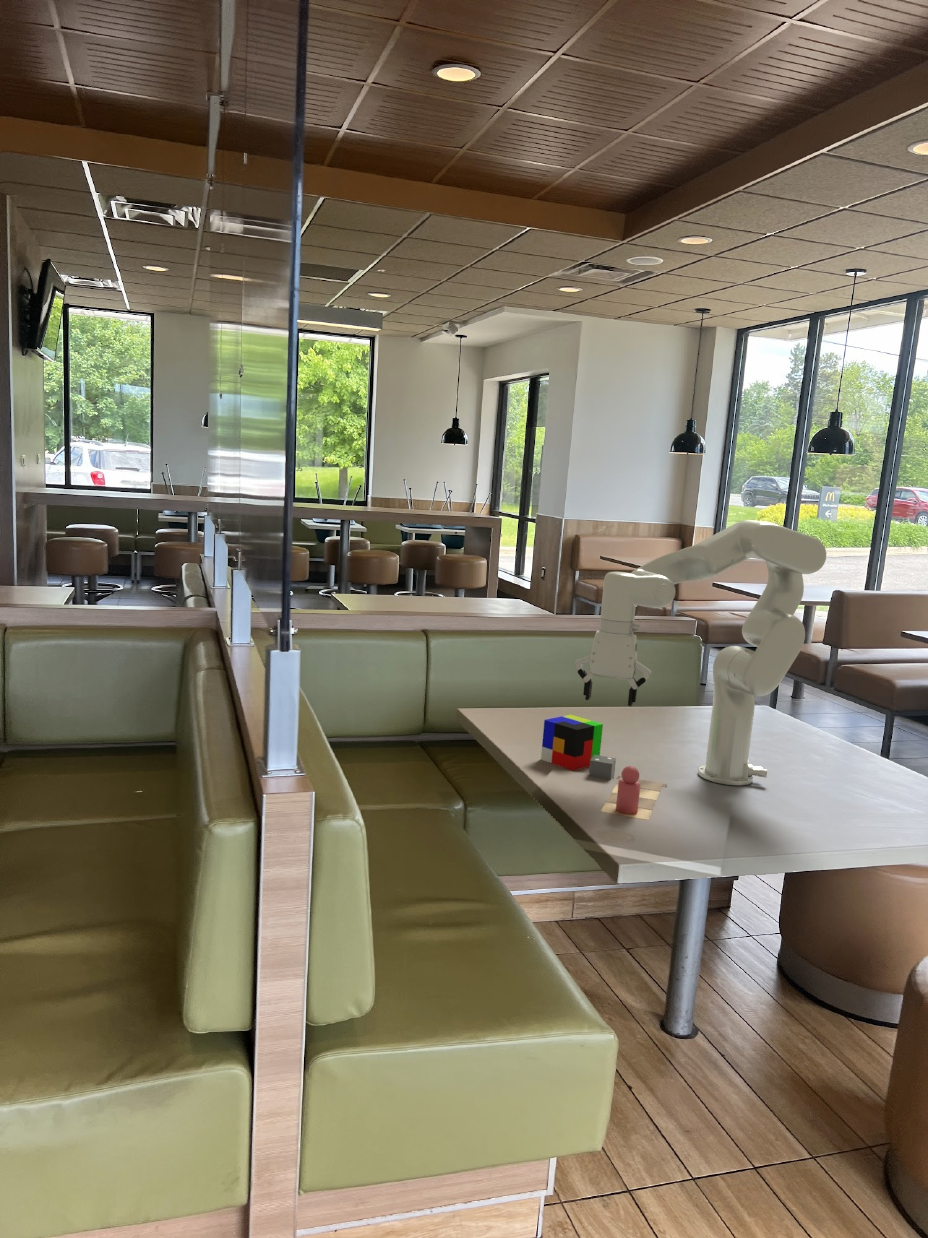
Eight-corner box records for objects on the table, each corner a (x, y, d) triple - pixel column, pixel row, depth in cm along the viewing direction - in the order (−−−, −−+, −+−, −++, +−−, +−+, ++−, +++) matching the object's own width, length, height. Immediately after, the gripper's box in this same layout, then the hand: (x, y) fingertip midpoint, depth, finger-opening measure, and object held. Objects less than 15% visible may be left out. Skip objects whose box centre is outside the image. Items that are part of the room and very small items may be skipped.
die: (613, 779, 211) (616, 757, 210) (610, 785, 206) (612, 763, 206) (592, 775, 213) (594, 754, 212) (588, 781, 208) (590, 760, 207)
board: (666, 788, 207) (666, 783, 207) (650, 827, 182) (651, 822, 181) (617, 780, 210) (618, 774, 210) (596, 817, 185) (596, 811, 185)
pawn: (638, 809, 188) (643, 765, 187) (635, 816, 184) (640, 771, 182) (617, 805, 189) (622, 762, 188) (614, 812, 185) (618, 767, 184)
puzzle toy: (540, 759, 222) (544, 719, 220) (566, 753, 229) (570, 714, 227) (573, 771, 215) (577, 729, 213) (598, 764, 222) (602, 724, 220)
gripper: (657, 630, 205) (649, 704, 208) (581, 621, 210) (574, 693, 213) (653, 634, 198) (645, 711, 201) (574, 624, 203) (568, 699, 206)
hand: (609, 702), depth 207 cm, fingers open, 9 cm apart
